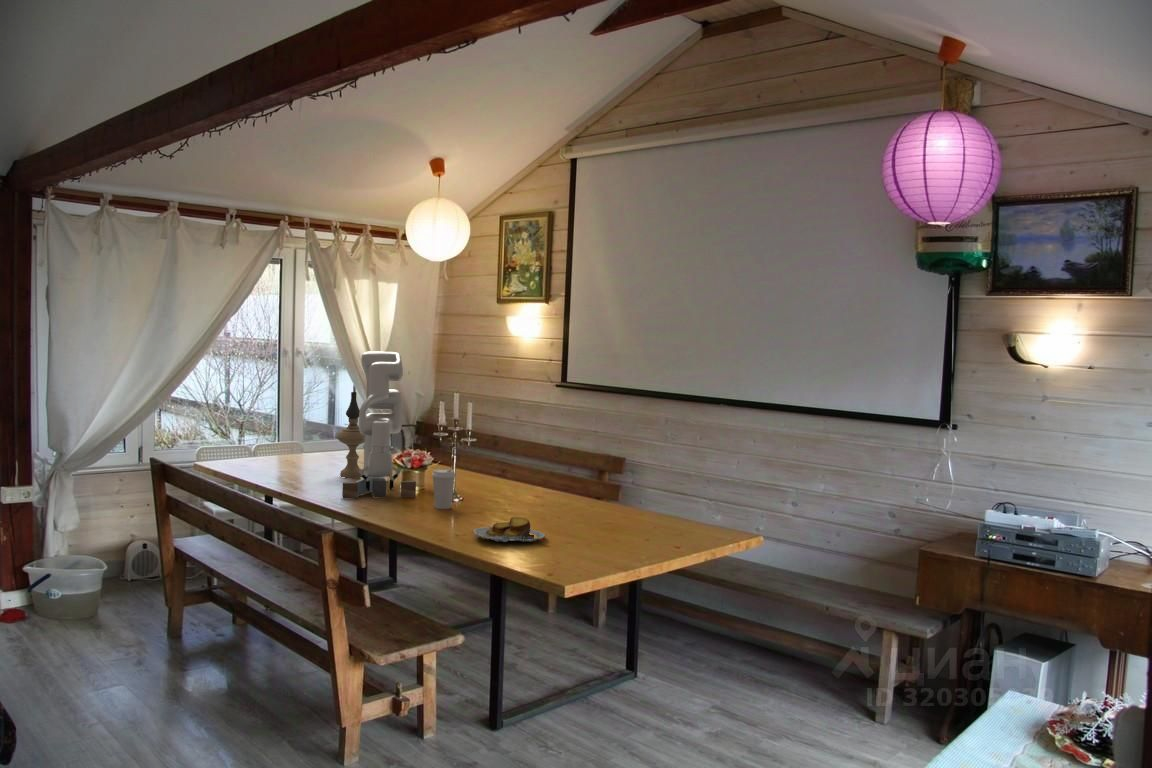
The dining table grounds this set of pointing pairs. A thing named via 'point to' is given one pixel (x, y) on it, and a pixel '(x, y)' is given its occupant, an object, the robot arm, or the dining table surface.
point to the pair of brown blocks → (352, 489)
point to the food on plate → (510, 531)
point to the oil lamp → (351, 440)
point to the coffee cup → (443, 488)
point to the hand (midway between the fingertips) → (379, 489)
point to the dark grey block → (379, 487)
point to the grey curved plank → (364, 486)
